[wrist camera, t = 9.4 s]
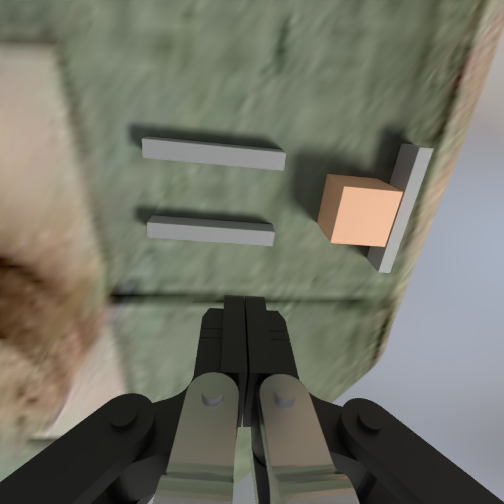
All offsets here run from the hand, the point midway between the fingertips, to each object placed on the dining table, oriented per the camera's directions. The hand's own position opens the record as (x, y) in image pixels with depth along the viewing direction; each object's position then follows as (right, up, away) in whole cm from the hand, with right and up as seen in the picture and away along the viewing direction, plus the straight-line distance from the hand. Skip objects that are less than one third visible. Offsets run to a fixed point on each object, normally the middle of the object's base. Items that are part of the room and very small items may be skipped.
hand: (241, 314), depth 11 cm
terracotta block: (+10, +8, +18) cm, 22 cm away
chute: (-3, +8, +17) cm, 19 cm away
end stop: (+14, +7, +19) cm, 24 cm away
